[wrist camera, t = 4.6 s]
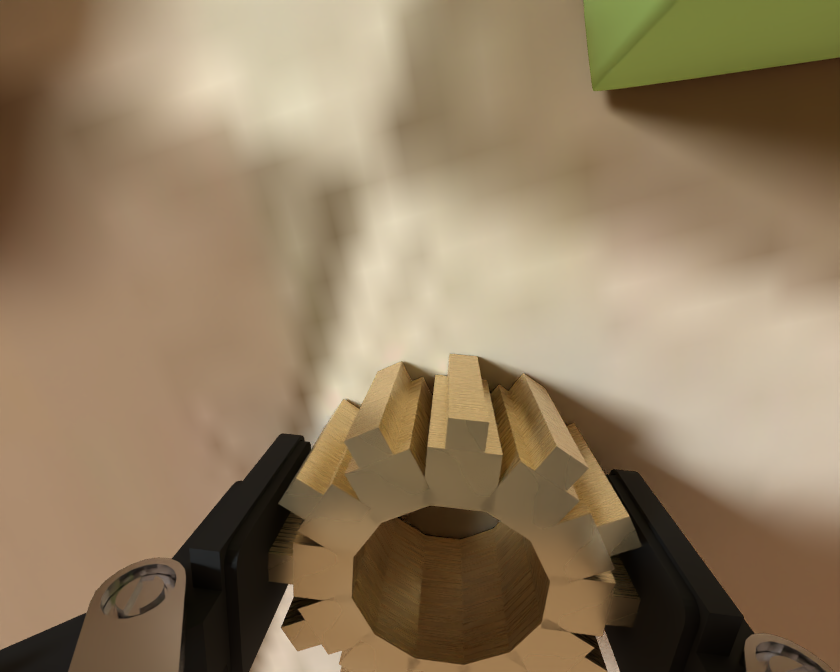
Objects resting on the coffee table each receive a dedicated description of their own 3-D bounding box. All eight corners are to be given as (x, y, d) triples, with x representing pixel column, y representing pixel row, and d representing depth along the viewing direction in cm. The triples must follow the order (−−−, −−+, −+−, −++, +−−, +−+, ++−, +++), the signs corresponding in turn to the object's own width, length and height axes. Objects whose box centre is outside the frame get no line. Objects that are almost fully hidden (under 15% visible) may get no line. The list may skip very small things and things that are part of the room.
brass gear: (319, 341, 11) (258, 398, 7) (612, 369, 10) (691, 443, 7) (317, 571, 13) (268, 698, 9) (561, 602, 12) (602, 746, 9)
